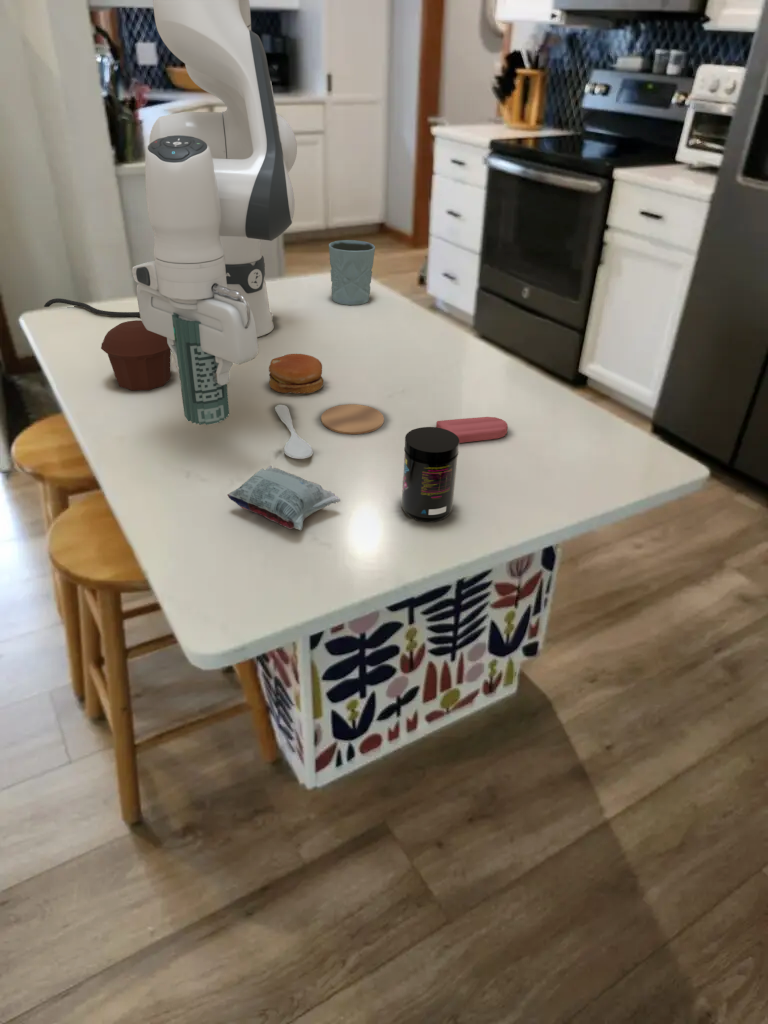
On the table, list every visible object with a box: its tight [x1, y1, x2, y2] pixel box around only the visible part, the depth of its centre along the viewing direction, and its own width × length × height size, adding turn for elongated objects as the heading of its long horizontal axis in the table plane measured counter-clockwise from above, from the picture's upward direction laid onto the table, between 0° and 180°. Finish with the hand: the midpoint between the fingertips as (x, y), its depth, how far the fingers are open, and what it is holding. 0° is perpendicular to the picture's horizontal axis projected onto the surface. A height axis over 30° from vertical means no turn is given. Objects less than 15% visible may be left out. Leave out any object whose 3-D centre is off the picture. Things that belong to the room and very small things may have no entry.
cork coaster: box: [320, 403, 385, 435], centre depth 118 cm, size 10×10×1 cm
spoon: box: [274, 404, 314, 460], centre depth 113 cm, size 4×21×2 cm, turn 16°
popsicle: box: [435, 416, 509, 444], centre depth 115 cm, size 5×2×15 cm
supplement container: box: [401, 426, 460, 523], centre depth 94 cm, size 7×7×10 cm
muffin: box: [100, 319, 172, 391], centre depth 126 cm, size 12×11×10 cm
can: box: [172, 312, 230, 426], centre depth 104 cm, size 6×6×15 cm
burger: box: [268, 353, 324, 395], centre depth 128 cm, size 10×9×5 cm
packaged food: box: [227, 465, 341, 532], centre depth 94 cm, size 9×12×5 cm
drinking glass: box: [328, 239, 376, 306], centre depth 167 cm, size 10×10×12 cm
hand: (202, 375), depth 105 cm, fingers closed on can, 6 cm apart
